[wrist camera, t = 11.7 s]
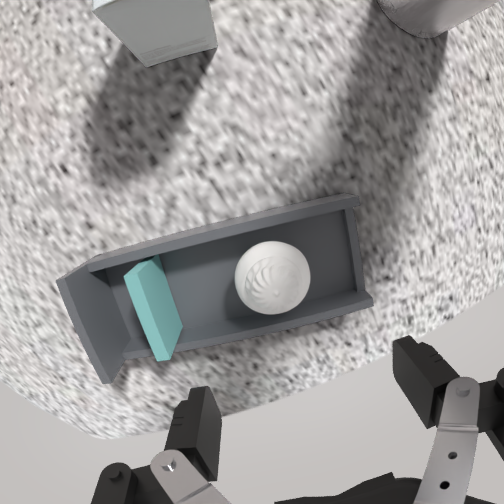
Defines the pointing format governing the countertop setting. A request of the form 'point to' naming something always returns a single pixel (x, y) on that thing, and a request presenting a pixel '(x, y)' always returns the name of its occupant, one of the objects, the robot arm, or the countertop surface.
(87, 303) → the pusher lane
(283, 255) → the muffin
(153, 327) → the teal flat slab
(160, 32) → the supplement box
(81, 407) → the countertop surface
